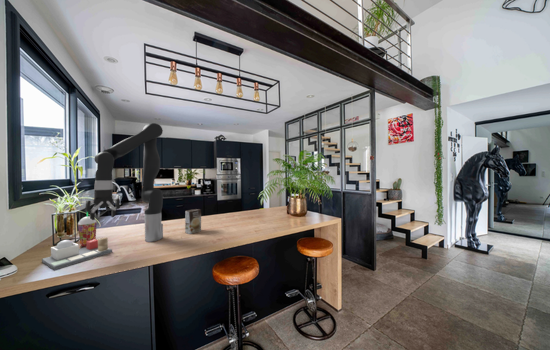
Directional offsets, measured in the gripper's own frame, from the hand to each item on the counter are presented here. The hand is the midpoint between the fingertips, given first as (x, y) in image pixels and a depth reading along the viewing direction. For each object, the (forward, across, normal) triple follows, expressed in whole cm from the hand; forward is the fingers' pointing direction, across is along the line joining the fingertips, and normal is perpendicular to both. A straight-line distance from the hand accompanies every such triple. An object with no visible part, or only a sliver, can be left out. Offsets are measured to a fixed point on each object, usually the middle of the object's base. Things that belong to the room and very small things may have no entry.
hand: (103, 218), depth 108 cm
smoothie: (+19, 0, -23) cm, 30 cm away
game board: (+19, +8, -5) cm, 21 cm away
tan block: (+17, 0, 0) cm, 17 cm away
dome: (+16, +13, -8) cm, 22 cm away
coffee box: (+18, -49, +10) cm, 53 cm away
